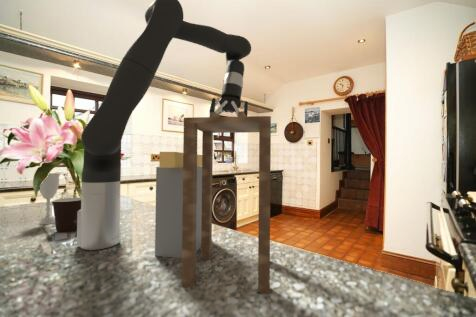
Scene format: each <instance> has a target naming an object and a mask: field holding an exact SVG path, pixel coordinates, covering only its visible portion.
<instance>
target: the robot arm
mask: <svg viewBox="0 0 476 317" xmlns="http://www.w3.org/2000/svg"><path fill="white" fill-rule="evenodd" d="M144 19H145V23H146V26H145V28H144V30H143V31H142V33H141V34H140V35H139V36H138V37H137V39H136V40H135V41H134V42H133V43H132V45H131V46H130V47H129V48H128V50H127V51H126V53H125V55H124V56H123V57H122V59H121V61H120V63H119V65H118V66H117V69H116V70H115V73H114V75H113V77H112V79H111V82H110V84H109V87H108V89H107V91H106V94H105V97H104V98H103V101H102V102H101V104H100V105H99V107H98V108H97V110H96V112H95V113H94V115H93V116H92V117H91V119H90V120H89V121H88V123H87V125H85V127H84V129H83V131H82V132H81V137H80V139H81V144H82V146H83V163H82V164H83V165H82V171H81V191H80V192H81V197H80V198H81V210H79V211H78V212H77V230H76V247H77V248H80V249H82V250H85V251H87V250H89V251H96V250H97V251H98V250H104V249H107V248H110V247H113V246H116V245H118V244H119V243H120V234H121V233H120V230H121V229H120V224H121V222H120V220H121V179H122V178H121V177H122V176H121V175H122V174H121V172H122V139H123V136H124V133H125V130H126V127H127V125H128V122H129V120H130V117H131V115H132V113H133V112H134V111H135V109H136V108H137V106H138V105H139V104H140V102H141V101H142V99H144V97H145V95H146V93H147V91H148V90H149V88H150V86H151V84H152V82H153V80H154V78H155V75H156V74H157V71H158V69H159V66H160V65H161V63H162V60H163V57H164V56H165V53H166V51H167V49H168V46H169V44H170V43H171V42H172V40H173V39H177V40H181V41H185V42H188V43H192V44H195V45H199V46H201V47H204V48H207V49H209V50H212V51H214V52H216V53H220V54H225V62H226V70H225V75H224V79H223V84H222V90H221V95H220V99H216V98H215V97H212V99H211V103H210V108H209V113H210V112H216V113H217V114H218V115H219V116H220V115H221V114H223V113H231V114H233V113H235V114H236V117H238V111H240V109H239V108H241V107H242V109H243V111H244V113H245V115H246V117H247V116H248V113H249V112H248V109H249V103H248V102H249V101H244V102H242V101H241V100H242V91H243V88H244V87H243V85H244V74H245V64H244V63H243V62H242V61H241V60H242V59H244V58H246V57H248V56H249V55H250V53H251V51H252V45H251V43H250V41H249V40H248V39H247V38H245V37H243V35H242V36H241V35H238V34H232V33H226V32H224V31H221V30H219V29H217V28H215V27H212V26H209V25H204V24H200V23H199V24H196V23H192V22H188V21H186V20H184V10H183V7H182V4H181V3H180V1H179V0H154V1H153V2H152V3H150V4H149V6H147V9H146V10H145V13H144ZM218 105H219V106H218ZM216 106H218V107H217V109H216Z"/></svg>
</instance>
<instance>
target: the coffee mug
mask: <svg viewBox="0 0 476 317" xmlns="http://www.w3.org/2000/svg"><path fill="white" fill-rule="evenodd" d="M52 207H53V216H54V218H55V223H54V224H55V232H56V233H59V234H62V233H65V234H66V233H72V231H73V232H77V212H78V211H79V210H81V197H64V198H56V199H52Z"/></svg>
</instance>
